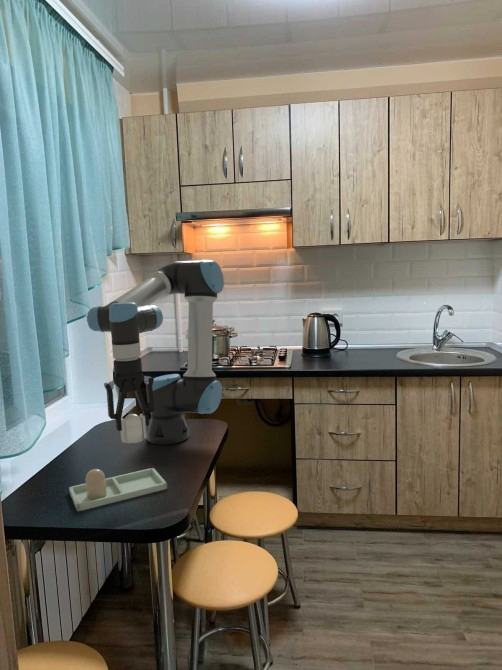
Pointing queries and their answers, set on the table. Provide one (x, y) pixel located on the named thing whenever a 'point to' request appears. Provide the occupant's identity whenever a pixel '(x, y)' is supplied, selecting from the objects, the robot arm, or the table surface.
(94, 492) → the egg brown
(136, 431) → the egg white
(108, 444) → the table surface
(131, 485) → the green divided tray
